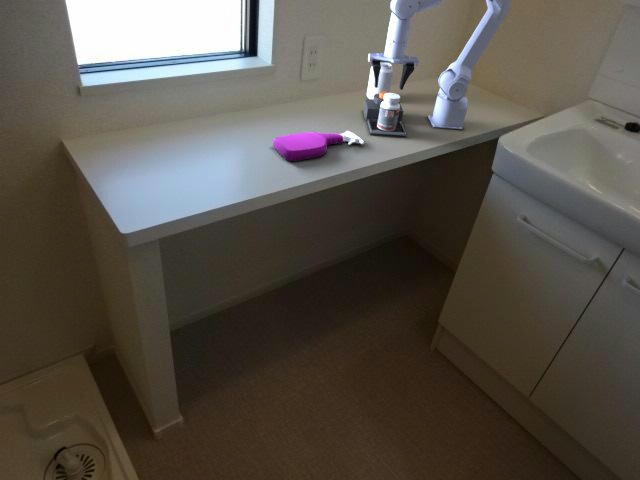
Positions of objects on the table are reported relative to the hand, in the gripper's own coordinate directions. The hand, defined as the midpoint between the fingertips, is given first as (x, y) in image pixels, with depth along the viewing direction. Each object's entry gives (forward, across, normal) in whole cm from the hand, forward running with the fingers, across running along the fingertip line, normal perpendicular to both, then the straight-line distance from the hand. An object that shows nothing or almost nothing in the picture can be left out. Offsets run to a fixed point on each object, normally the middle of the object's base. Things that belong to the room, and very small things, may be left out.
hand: (388, 87), depth 145 cm
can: (+11, +1, +18) cm, 21 cm away
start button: (+5, 0, +4) cm, 6 cm away
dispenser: (+10, 0, +2) cm, 11 cm away
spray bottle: (+11, -21, -22) cm, 32 cm away
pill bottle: (+10, 0, -7) cm, 12 cm away
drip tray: (+10, 0, -7) cm, 13 cm away
